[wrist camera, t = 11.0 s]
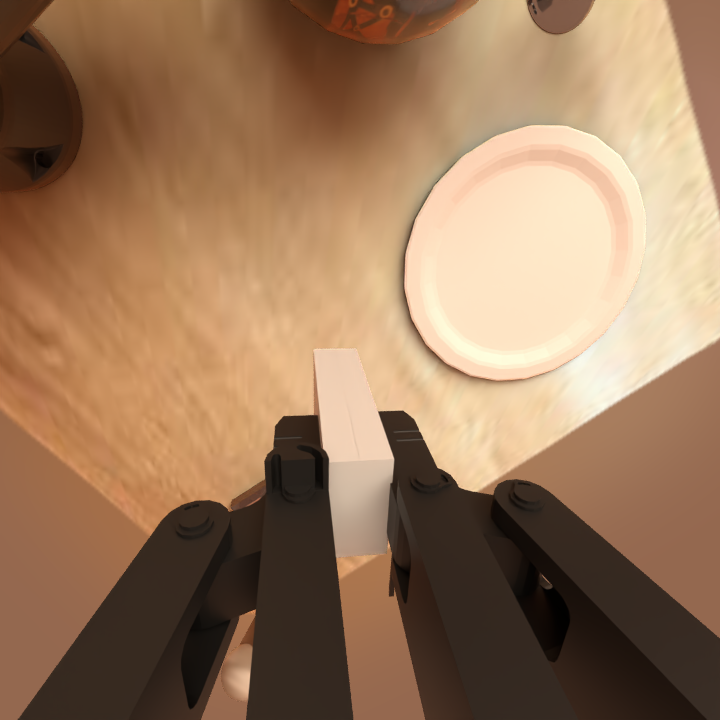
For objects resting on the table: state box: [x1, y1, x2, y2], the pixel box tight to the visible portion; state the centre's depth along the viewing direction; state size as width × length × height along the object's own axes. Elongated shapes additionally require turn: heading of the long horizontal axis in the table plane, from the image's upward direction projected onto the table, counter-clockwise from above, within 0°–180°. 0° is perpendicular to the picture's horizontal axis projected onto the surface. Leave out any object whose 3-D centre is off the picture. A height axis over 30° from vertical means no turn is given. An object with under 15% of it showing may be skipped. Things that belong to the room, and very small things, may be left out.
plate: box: [404, 125, 646, 381], centre depth 51 cm, size 29×29×2 cm
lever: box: [221, 618, 255, 701], centre depth 46 cm, size 4×4×23 cm
